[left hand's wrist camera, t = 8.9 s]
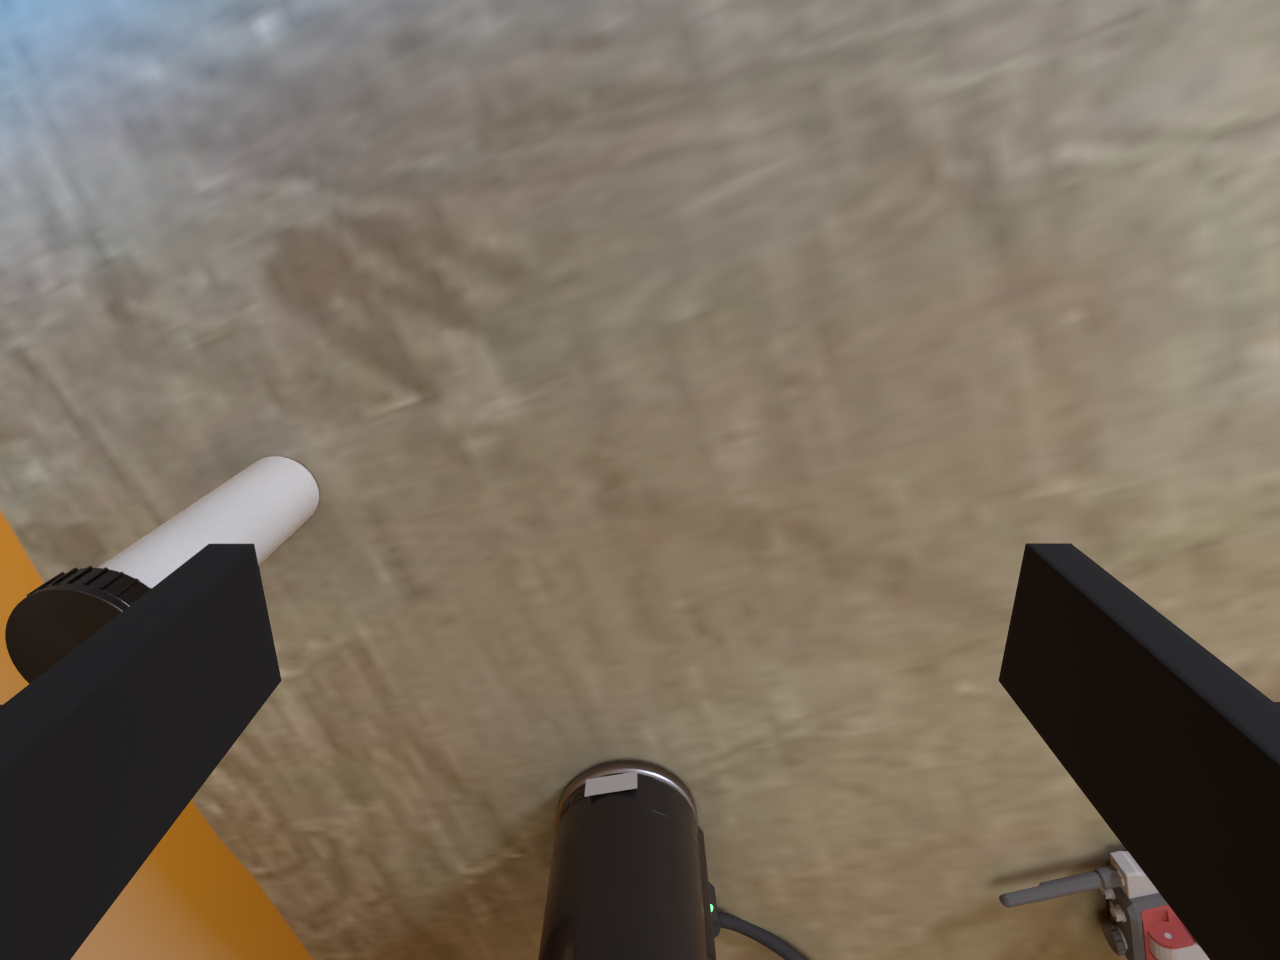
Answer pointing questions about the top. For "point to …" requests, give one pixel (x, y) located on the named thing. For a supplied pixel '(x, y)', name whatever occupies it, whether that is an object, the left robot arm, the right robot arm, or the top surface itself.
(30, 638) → the lid
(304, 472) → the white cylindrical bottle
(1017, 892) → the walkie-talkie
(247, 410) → the top surface
